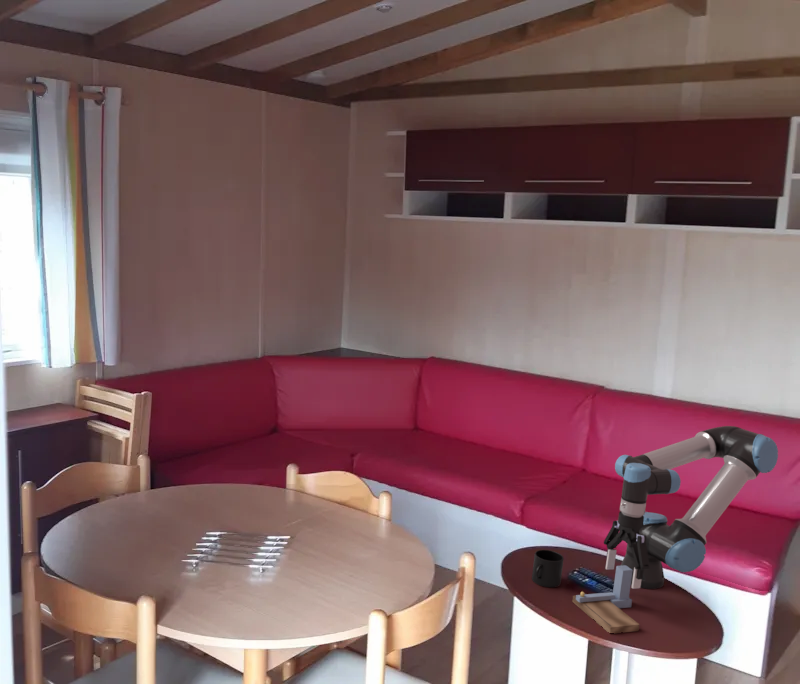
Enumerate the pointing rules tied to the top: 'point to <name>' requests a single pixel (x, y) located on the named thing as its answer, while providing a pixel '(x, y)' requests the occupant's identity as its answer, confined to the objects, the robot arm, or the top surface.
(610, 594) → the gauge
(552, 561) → the mug
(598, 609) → the board
